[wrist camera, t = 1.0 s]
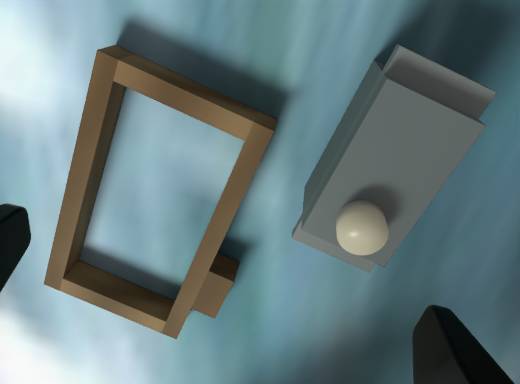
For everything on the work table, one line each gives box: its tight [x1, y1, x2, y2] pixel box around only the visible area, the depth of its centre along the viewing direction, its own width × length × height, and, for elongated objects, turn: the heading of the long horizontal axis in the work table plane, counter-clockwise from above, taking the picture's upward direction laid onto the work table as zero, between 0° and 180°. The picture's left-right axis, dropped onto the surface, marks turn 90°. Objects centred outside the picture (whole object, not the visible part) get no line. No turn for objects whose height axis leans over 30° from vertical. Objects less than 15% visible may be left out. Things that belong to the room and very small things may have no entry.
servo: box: [292, 44, 496, 272], centre depth 18 cm, size 4×9×6 cm, turn 156°
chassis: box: [44, 45, 278, 339], centre depth 23 cm, size 10×14×2 cm
